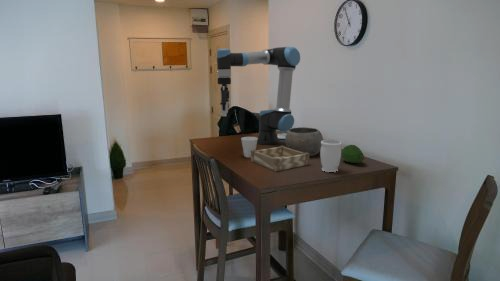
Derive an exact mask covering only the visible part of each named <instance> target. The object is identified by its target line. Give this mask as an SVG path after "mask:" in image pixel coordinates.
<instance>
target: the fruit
mask: <svg viewBox="0 0 500 281" xmlns="http://www.w3.org/2000/svg"><path fill="white" fill-rule="evenodd" d="M341 158H342V159H343V161H345V162H347V163H349V162H350V163H349V164H356V163H362V162H363V161H364V160H365V156H364V153H363V151H362V150H361V149H360V148H359V146H357V145H356V144H349V145H345V146H344V147H343V148H342V149H341Z"/></svg>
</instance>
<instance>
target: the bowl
mask: <svg viewBox="0 0 500 281" xmlns="http://www.w3.org/2000/svg"><path fill="white" fill-rule="evenodd" d="M321 141H324V137H323V134H322V132H321V131H320V130H319V129H318V128H313V127H292V128H291V129H290V130H289V131H286V134H285V140H284V142H285V147H286V148H290V149H293V150H297V151H300V152H303V153H306V152H307V153H310V154H309V158H310V157H314V156H317V155H318V154H320V150H321V146H322V144H321Z"/></svg>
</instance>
